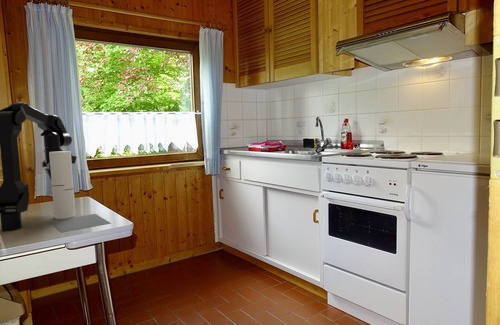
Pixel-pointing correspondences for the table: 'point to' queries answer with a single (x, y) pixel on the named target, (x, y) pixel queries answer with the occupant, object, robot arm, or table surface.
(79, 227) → the mat
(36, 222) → the table surface
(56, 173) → the cylindrical container
